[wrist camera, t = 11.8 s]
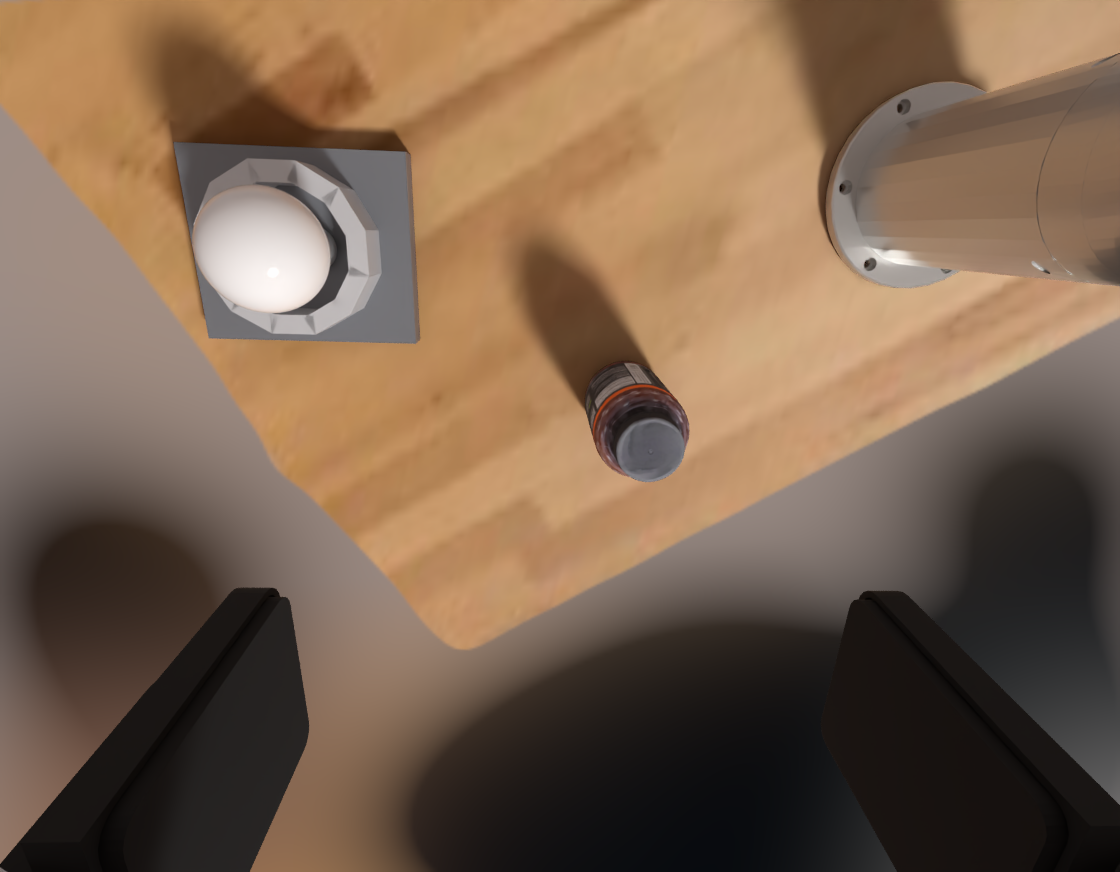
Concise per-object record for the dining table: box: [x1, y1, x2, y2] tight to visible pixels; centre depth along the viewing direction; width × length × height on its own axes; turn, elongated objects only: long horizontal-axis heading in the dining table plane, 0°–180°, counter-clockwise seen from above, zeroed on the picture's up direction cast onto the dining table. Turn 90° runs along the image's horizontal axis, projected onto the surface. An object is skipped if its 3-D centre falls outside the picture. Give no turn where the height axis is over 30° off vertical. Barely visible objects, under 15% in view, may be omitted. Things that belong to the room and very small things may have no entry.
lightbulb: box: [192, 184, 337, 313], centre depth 32 cm, size 6×6×11 cm
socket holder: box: [173, 142, 420, 344], centre depth 36 cm, size 14×12×4 cm
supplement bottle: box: [585, 361, 689, 482], centre depth 37 cm, size 6×6×11 cm
